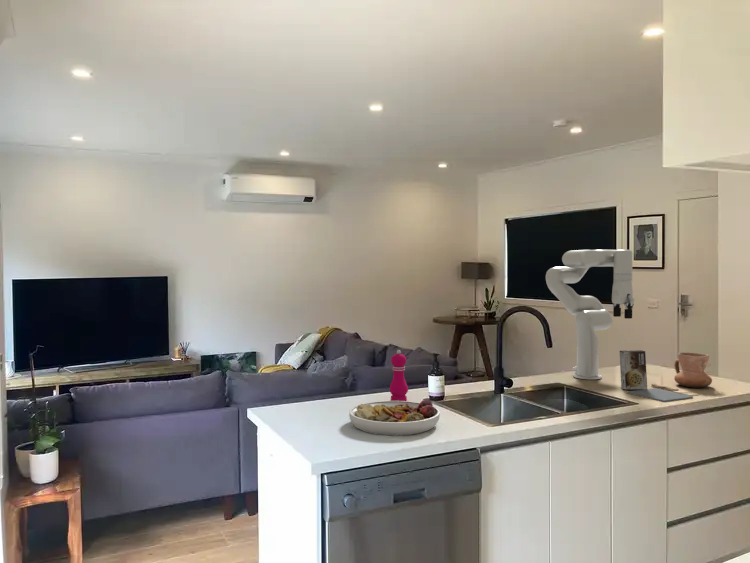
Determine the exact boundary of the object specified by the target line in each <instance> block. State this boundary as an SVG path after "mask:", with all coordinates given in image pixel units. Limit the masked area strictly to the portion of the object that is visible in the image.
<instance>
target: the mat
mask: <svg viewBox="0 0 750 563" xmlns="http://www.w3.org/2000/svg"><path fill="white" fill-rule="evenodd" d="M626 393H627V394H629V393H630V395H633V394H634V396H638V395H639V396H638V397H642V396H643V397H642V398H646V397H647V399H650V398H651V399H650V400H654V399H655V400H654V401H658V400H659V401H658V402H662V401H663V402H662V403H667V401H668V402H674V400H676V401H681V400H682V399H683V400H688V398H691V399H694V396H688V395H683V394H679V393H674V392H673V391H668V390H664V389H659V388H655V387H652V388H647V389H635V390H631V391H626ZM683 400H682V401H683Z"/></svg>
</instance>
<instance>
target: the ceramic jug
mask: <svg viewBox="0 0 750 563" xmlns="http://www.w3.org/2000/svg"><path fill="white" fill-rule="evenodd" d="M709 359H710V354H707V353H696V352H695V353H694V352H689V351H688V352H683V351H680V352H678V353H677V358H676V359H675V361H674V369H675V373H676V374H675V375H674V381H675V383H677V384H679V385H680V386H682V387H685V388H686V387H687V388H692V389H699V388H707V387H709V386H710V385H711V384H712V382H713V379H712V377H711V376H710V375H709V374H707V373H706V372H705V369H706V367H708V368H709V367H710V366H711V364H710V363H709ZM679 365H680V366H679ZM680 367H681V369H682V370H680Z"/></svg>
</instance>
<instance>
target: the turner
mask: <svg viewBox="0 0 750 563" xmlns="http://www.w3.org/2000/svg"><path fill="white" fill-rule="evenodd" d="M652 386H653V387H652ZM651 387H652V388H655V387H657V389H659V388H661V390H664V389H665V391H668V390H670V392H674V393H679V394H683V395H688V396H692V397H695V396H694V395H696V396H699V393H696V392H692V391H687V390H682V389H679V388H675V387H672V386H666V385H662V384H656V383H651Z"/></svg>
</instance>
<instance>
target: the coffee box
mask: <svg viewBox="0 0 750 563" xmlns="http://www.w3.org/2000/svg"><path fill="white" fill-rule="evenodd" d="M646 359H647V358H646V351H645V350H641V349H637V350H636V349H635V350H634V349H633V350H628V349H627V350H619V366H620V367H619V368H620V388H621V389H624V390H644V389H648V377H647V376H648V375H647V374H648V373H647V360H646Z"/></svg>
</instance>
